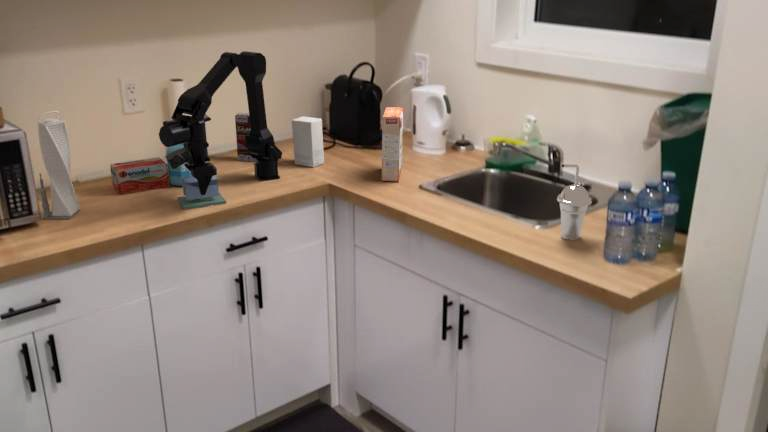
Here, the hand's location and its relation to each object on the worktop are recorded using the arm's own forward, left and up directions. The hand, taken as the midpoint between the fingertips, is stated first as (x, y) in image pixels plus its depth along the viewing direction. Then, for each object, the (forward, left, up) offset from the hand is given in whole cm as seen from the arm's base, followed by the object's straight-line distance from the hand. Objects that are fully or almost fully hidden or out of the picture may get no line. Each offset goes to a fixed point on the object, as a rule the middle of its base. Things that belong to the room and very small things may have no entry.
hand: (200, 191), depth 203 cm
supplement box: (-25, -35, -3) cm, 43 cm away
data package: (0, -21, -3) cm, 21 cm away
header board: (0, 0, -3) cm, 3 cm away
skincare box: (-41, -22, -3) cm, 47 cm away
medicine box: (+14, -20, -3) cm, 25 cm away
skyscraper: (+36, -6, -3) cm, 37 cm away
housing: (0, 0, -1) cm, 1 cm away
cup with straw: (-79, +66, -3) cm, 103 cm away
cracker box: (-61, +1, -3) cm, 61 cm away
